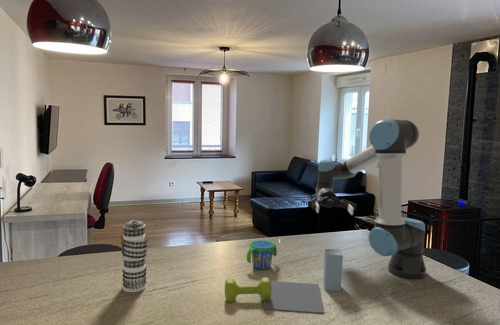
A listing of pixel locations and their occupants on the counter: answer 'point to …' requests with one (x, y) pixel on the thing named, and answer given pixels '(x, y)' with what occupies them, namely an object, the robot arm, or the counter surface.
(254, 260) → the snack cup
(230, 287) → the dumbbell
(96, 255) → the counter surface
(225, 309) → the counter surface
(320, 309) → the mat
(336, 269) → the block
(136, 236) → the patterned white cylinder
